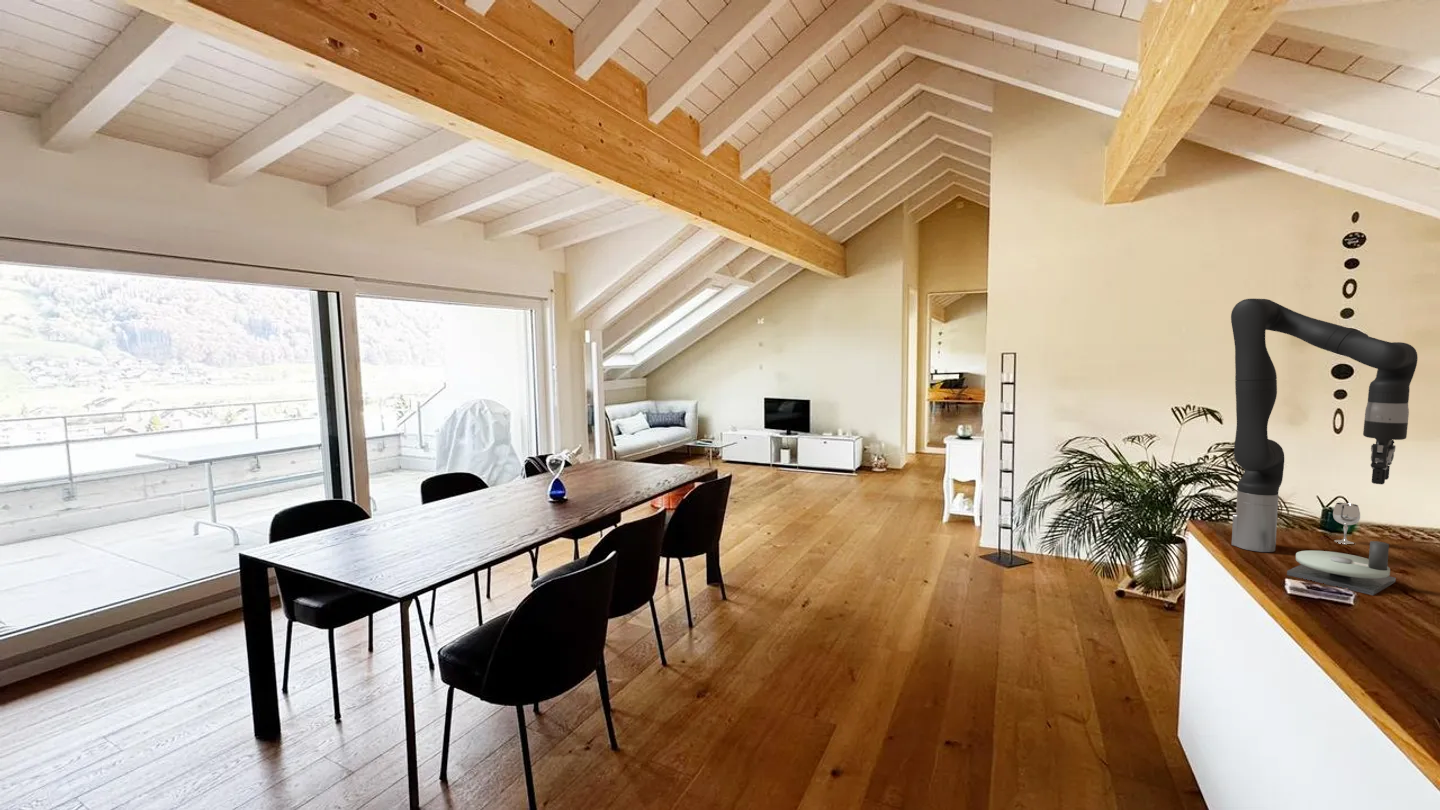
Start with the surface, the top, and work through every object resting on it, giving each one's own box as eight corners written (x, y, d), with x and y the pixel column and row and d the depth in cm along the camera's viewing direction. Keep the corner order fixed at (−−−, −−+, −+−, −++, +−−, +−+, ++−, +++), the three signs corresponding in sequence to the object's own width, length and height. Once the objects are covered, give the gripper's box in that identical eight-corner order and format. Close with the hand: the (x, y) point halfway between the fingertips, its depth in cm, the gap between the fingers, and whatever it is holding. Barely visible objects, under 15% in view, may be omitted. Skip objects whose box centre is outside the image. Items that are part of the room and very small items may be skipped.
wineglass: (1363, 545, 180) (1366, 507, 179) (1341, 545, 181) (1343, 506, 180) (1348, 540, 186) (1350, 502, 185) (1326, 539, 187) (1328, 501, 186)
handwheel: (1286, 563, 158) (1288, 534, 157) (1306, 551, 167) (1307, 523, 166) (1380, 583, 144) (1383, 551, 143) (1396, 568, 153) (1398, 538, 152)
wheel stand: (1287, 574, 159) (1287, 564, 159) (1311, 563, 166) (1311, 553, 166) (1373, 595, 145) (1373, 583, 145) (1395, 582, 152) (1396, 570, 152)
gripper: (1405, 423, 146) (1398, 488, 148) (1410, 418, 155) (1404, 479, 156) (1360, 421, 152) (1354, 483, 154) (1368, 416, 161) (1363, 475, 162)
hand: (1380, 481), depth 155 cm, fingers open, 8 cm apart
